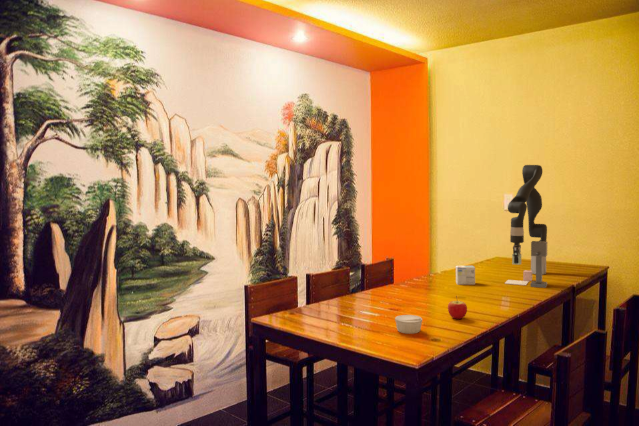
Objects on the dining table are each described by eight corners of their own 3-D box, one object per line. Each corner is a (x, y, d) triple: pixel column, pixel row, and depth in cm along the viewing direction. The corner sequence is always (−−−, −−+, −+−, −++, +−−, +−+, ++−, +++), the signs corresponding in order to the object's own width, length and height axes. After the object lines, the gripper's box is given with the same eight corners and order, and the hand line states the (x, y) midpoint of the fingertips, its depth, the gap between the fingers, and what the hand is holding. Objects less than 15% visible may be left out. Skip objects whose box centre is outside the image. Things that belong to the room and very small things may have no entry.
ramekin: (413, 336, 201) (413, 323, 200) (389, 331, 208) (389, 318, 208) (427, 330, 209) (427, 317, 209) (404, 325, 216) (404, 313, 216)
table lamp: (532, 284, 300) (532, 240, 298) (547, 285, 296) (547, 241, 294) (530, 287, 291) (530, 242, 290) (545, 288, 287) (545, 243, 286)
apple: (463, 315, 231) (463, 294, 230) (469, 320, 222) (469, 298, 222) (445, 316, 230) (445, 294, 230) (451, 320, 222) (451, 298, 221)
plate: (507, 280, 313) (507, 279, 313) (528, 281, 307) (528, 281, 307) (504, 283, 303) (504, 283, 303) (525, 285, 297) (525, 284, 297)
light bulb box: (473, 282, 307) (473, 265, 307) (475, 284, 301) (475, 267, 300) (455, 282, 308) (455, 265, 308) (457, 284, 302) (457, 267, 301)
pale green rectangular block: (513, 263, 307) (513, 253, 307) (521, 263, 305) (521, 253, 305) (512, 264, 303) (512, 254, 303) (520, 264, 301) (520, 254, 301)
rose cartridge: (524, 279, 314) (524, 270, 314) (532, 280, 312) (532, 270, 312) (523, 281, 310) (523, 271, 310) (531, 281, 308) (531, 271, 308)
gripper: (521, 235, 295) (521, 264, 296) (525, 233, 308) (525, 261, 309) (508, 235, 299) (508, 264, 300) (512, 233, 311) (512, 260, 312)
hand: (516, 262), depth 304 cm, fingers closed on pale green rectangular block, 4 cm apart
